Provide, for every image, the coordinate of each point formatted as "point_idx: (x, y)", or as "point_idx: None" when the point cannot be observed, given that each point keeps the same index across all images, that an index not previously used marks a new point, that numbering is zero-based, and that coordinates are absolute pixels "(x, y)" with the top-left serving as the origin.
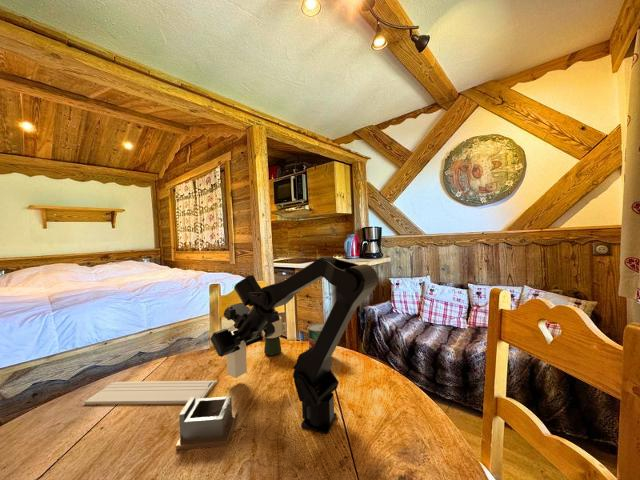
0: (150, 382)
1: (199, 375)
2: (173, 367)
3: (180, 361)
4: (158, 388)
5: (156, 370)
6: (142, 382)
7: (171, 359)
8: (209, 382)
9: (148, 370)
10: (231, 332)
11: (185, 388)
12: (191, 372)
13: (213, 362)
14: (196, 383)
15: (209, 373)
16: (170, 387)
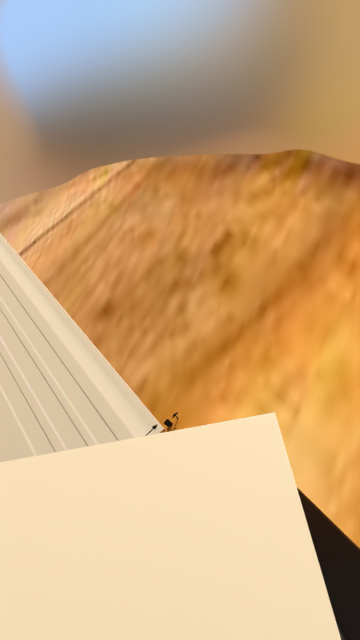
0: (13, 281)
1: (142, 321)
2: (115, 219)
3: (148, 194)
4: (2, 332)
5: (78, 212)
6: (4, 267)
7: (136, 172)
8: (119, 435)
9: (66, 202)
10: (55, 532)
11: (41, 402)
12: (135, 281)
13: (229, 255)
14: (84, 396)
15: (176, 331)
16: (23, 352)
